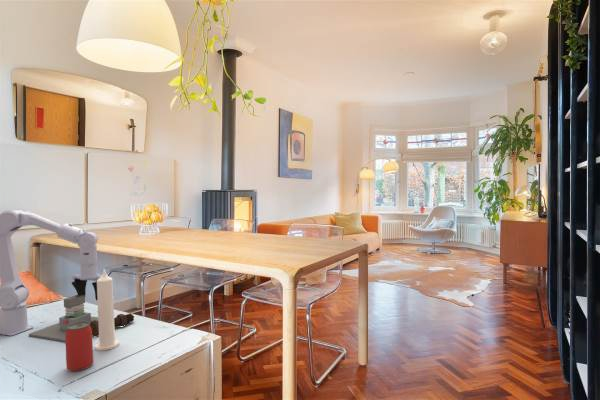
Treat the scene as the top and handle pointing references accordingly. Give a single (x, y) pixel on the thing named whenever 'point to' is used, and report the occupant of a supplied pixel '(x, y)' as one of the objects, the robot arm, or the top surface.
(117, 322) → the bolt
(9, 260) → the robot arm
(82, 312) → the tall silver metal block
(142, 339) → the top surface
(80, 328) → the beer can
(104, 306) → the candle
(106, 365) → the top surface
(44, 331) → the jack base
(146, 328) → the top surface
